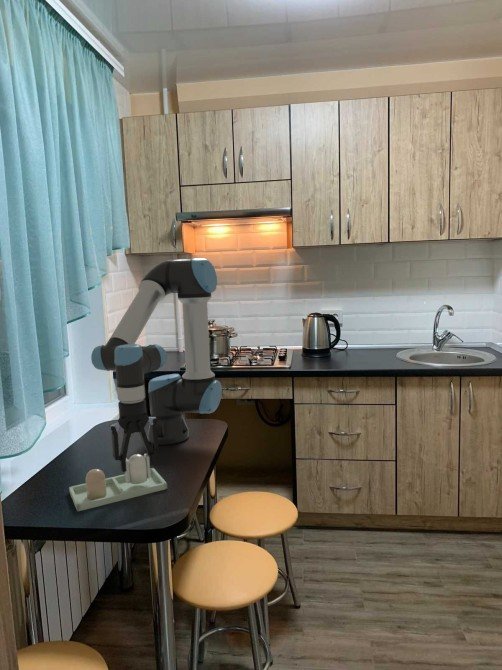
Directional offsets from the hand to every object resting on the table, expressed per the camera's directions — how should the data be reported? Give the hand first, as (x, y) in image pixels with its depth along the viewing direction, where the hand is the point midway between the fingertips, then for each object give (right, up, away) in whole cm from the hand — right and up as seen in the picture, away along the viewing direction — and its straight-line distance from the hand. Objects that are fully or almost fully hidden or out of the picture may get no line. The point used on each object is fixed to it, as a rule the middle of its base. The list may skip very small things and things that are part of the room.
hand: (138, 478), depth 147 cm
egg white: (0, 0, 0) cm, 0 cm away
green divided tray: (-5, -3, -2) cm, 6 cm away
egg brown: (-10, -3, -5) cm, 12 cm away
